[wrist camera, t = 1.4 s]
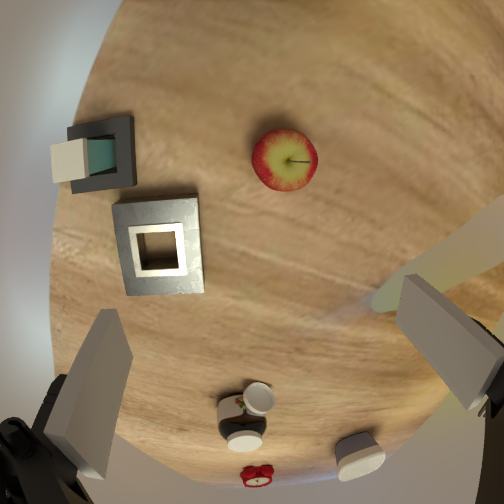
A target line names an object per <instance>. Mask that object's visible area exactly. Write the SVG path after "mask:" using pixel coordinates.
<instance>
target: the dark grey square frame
mask: <svg viewBox="0 0 504 504" xmlns="http://www.w3.org/2000/svg"><path fill="white" fill-rule="evenodd" d="M114 134H115V142H116V161H117V172H110V173H103V174H96V175H89V177H87V178H83V179H76V180H71V189H72V194H77V193H84V192H91V191H99V190H107V189H116V188H125V187H133V186H135V185H137V172H136V156H135V133H134V117H132V116H124V117H118V118H112V119H106V120H101V121H95V122H90V123H85V124H81V125H76V126H72V127H68V128H67V137H68V141H72V140H77V139H82V138H87V139H91V138H96V137H102V136H108V135H114Z"/></svg>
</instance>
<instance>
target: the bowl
mask: <svg viewBox="0 0 504 504" xmlns="http://www.w3.org/2000/svg"><path fill="white" fill-rule="evenodd" d="M335 453H336V462H337V472H338V478H339V479H340V480H341V481H348V480H351V479H355V478H357V477H360V476H363V475H365V474H368V473H370V472H372V471H374V470H376V469H378V468H379V467H380V466H381V465H382V463H383V462H384V460H385V457H386V452H385V451H384V450H383V449H382V448H381V446H380V445H379V444H378V443H377V442H376V441H375V440H374V439H373V438H372V437H371V436H370V435H369V434H368V432H363V433H359V434H356V435H353V436H350V437H348V438H345V439H343V440H341V441H339V442H338V444H337V446H336V448H335Z"/></svg>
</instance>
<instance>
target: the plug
mask: <svg viewBox="0 0 504 504" xmlns="http://www.w3.org/2000/svg"><path fill="white" fill-rule="evenodd" d="M50 149H51V164H52V176H53V183H58V182H64V181H70V180H76V179H83V178H87V177H89V175H90V174H93V173H96V172H99V171H103V170H106V169H109V168H113V167H116V166H117V161H116V142H115V140H87V138H82V139H77V140H72V141H67V142H63V143H58V144H54V145H51V146H50Z"/></svg>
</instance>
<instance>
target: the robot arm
mask: <svg viewBox="0 0 504 504" xmlns="http://www.w3.org/2000/svg"><path fill="white" fill-rule="evenodd" d="M395 324H396V325H397V326H398V327H399V328H400V329H401V331H402V332H403V333H404V334H405V335H406V336H407V338H408V339H409V340H410V341H411V342H412V343H413V345H414V346H415V347H416V348H417V349H418V350H419V352H420V353H421V354H422V355H423V356H424V358H425V359H426V360H427V361H428V362H429V364H430V365H431V366H432V367H433V368H434V370H435V371H436V372H437V373H438V375H439V376H440V377H441V378H442V380H443V381H444V382H445V383H446V385H447V386H448V387H449V388H450V390H451V391H452V392H453V393H454V395H455V396H456V397H457V398H458V400H459V401H460V402H461V404H462V405H463V406H464V408H465V409H466V410H467V411H468V410H470V409H471V408H473V407H475V406H476V405H478V404H479V403H480V401H481V400H482V398H483V397H484V395H485V394H487V396H488V397H489V398H488V399H487V401H486V403H485V404H484V405H483V407H482V409H481V410H480V411H479V413H478V416H479V417H480V416H481V414H482V413H483V411H484V410H486V412H485V414H484V415H483V417H485V439H484V451H483V460H482V468H481V476H480V481H479V487H478V493H477V497H476V502H475V504H504V344H503V343H502V342H501V341H500V340H499V339H498V338H497V337H496V336H495V335H492V333H491V332H490V331H489V330H488V329H487V330H486V327H485V326H483V325H482V324H481V323H480V322H479V321H477V320H475V319H473V318H471V317H469V316H468V315H466V314H465V313H464V312H463V311H462V310H461V309H459V308H458V307H457V306H456V305H455V304H454V303H452V302H451V301H450V300H449V299H447V298H446V297H445V296H444V295H443V294H441V293H440V292H439V291H438V290H436V289H435V288H434V287H433V286H431V285H430V284H429V283H428V282H426V281H425V280H424V279H423V278H421V277H420V276H419V275H417V274H411V275H406V276H404V281H403V287H402V292H401V297H400V302H399V306H398V311H397V315H396V319H395ZM132 360H133V355H132V353H131V350H130V347H129V344H128V342H127V339H126V336H125V333H124V330H123V327H122V324H121V321H120V318H119V315H118V312H117V309H101V310H100V312H99V314H98V316H97V318H96V319H95V321H94V323H93V325H92V327H91V329H90V331H89V333H88V334H87V336H86V338H85V340H84V342H83V344H82V346H81V348H80V350H79V352H78V354H77V356H76V358H75V360H74V362H73V364H72V366H71V369H70V371H69V373H68V375H66V374H60V375H59V376H58V377H57V378H56V379H55V380H54V381H53V382H52V383H51V385H50V387H49V390H48V392H47V395H46V396H45V398H44V400H43V402H44V403H43V404H42V405H41V407H40V409H39V411H38V414H37V416H36V418H35V421H34V423H33V426H32V428H31V429H30V428H29V427H28V426H27V425H26V423H25V422H24V421H23V420H21V419H20V418H17V417H11V418H7V419H6V420H4V421H3V422H1V424H0V445H1V446H0V504H94V503H93V501H92V500H91V498H90V497H89V495H88V493H87V492H86V490H85V489H84V487H83V485H82V484H81V482H80V481H79V479H78V478H77V477H76V475H77V471H78V470H79V471H80V472H82V473H83V474H84V475H85V476H86V477H91V478H97V479H103V480H105V477H106V471H107V465H108V460H109V455H110V449H111V445H112V440H113V435H114V431H115V426H116V422H117V418H118V413H119V409H120V405H121V401H122V397H123V393H124V389H125V385H126V381H127V378H128V374H129V370H130V367H131V363H132ZM6 493H7V495H6Z"/></svg>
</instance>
